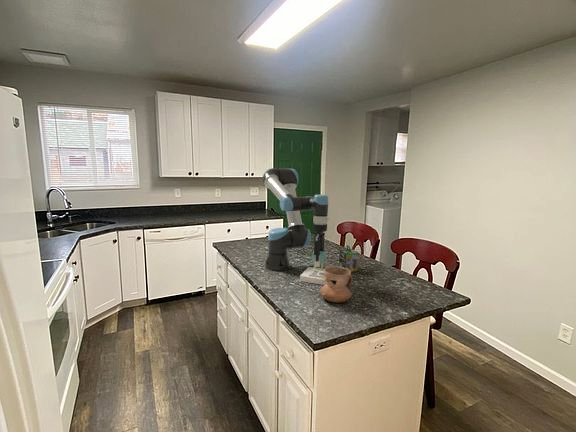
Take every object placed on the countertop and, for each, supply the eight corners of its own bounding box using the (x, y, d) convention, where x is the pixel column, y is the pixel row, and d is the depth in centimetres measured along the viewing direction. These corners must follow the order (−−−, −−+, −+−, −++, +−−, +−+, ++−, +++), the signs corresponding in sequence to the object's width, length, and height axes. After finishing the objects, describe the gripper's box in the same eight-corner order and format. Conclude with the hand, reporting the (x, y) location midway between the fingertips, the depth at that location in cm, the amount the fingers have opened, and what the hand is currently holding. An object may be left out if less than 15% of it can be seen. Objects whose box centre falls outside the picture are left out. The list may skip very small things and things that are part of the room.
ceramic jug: (330, 308, 136) (332, 278, 133) (311, 295, 148) (313, 267, 146) (361, 301, 145) (363, 272, 142) (341, 290, 157) (343, 263, 155)
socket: (299, 281, 167) (299, 274, 166) (308, 271, 182) (308, 265, 181) (336, 287, 160) (336, 280, 159) (342, 276, 175) (342, 270, 174)
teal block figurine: (311, 267, 169) (312, 252, 168) (314, 265, 174) (314, 250, 172) (323, 269, 167) (323, 254, 165) (325, 266, 172) (326, 251, 170)
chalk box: (359, 271, 185) (360, 247, 182) (345, 272, 182) (346, 248, 180) (351, 266, 193) (353, 243, 191) (338, 267, 191) (339, 244, 188)
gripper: (322, 227, 157) (321, 271, 160) (330, 221, 174) (329, 261, 177) (308, 225, 159) (307, 269, 163) (317, 220, 176) (316, 259, 180)
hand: (318, 264), depth 170 cm, fingers closed on teal block figurine, 5 cm apart
